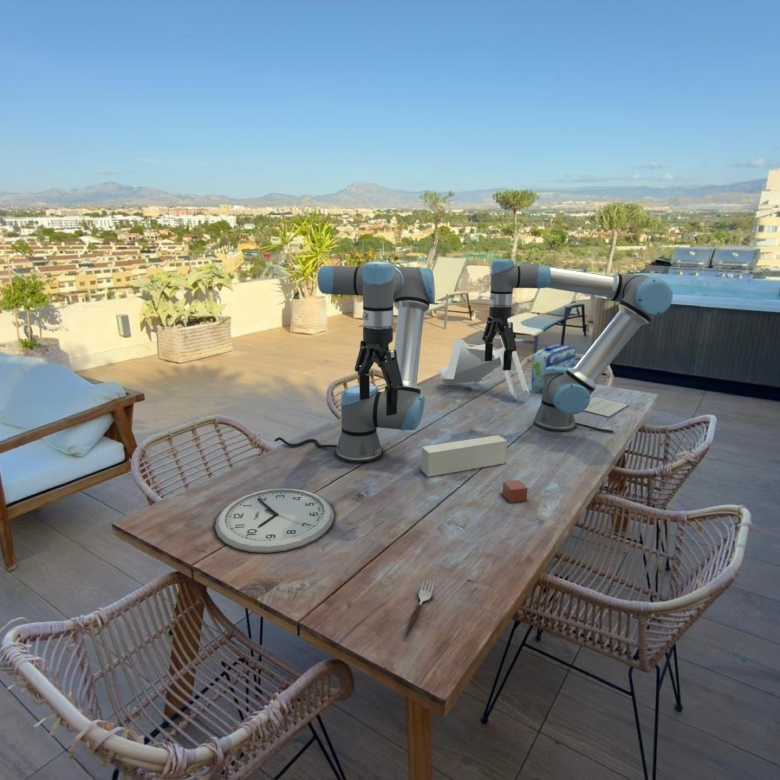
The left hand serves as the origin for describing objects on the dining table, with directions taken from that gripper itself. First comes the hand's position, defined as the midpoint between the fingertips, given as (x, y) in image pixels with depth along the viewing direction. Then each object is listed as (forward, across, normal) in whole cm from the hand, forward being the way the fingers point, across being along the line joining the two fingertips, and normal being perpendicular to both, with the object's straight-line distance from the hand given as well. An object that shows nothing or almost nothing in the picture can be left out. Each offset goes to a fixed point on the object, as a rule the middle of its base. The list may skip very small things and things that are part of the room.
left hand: (377, 406), depth 137 cm
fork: (+27, +42, -16) cm, 52 cm away
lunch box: (+30, -49, +127) cm, 139 cm away
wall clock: (+28, -5, -27) cm, 39 cm away
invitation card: (+30, -20, +125) cm, 130 cm away
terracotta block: (+28, +18, +35) cm, 48 cm away
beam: (+29, -5, +35) cm, 46 cm away
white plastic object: (+30, -62, +93) cm, 116 cm away
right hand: (+3, -21, +62) cm, 66 cm away
